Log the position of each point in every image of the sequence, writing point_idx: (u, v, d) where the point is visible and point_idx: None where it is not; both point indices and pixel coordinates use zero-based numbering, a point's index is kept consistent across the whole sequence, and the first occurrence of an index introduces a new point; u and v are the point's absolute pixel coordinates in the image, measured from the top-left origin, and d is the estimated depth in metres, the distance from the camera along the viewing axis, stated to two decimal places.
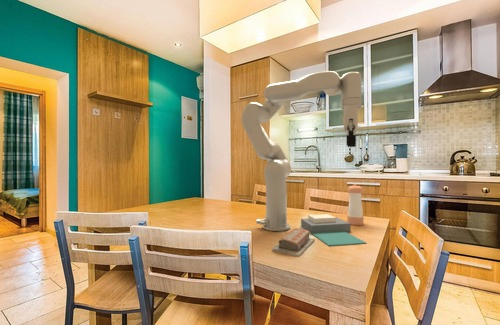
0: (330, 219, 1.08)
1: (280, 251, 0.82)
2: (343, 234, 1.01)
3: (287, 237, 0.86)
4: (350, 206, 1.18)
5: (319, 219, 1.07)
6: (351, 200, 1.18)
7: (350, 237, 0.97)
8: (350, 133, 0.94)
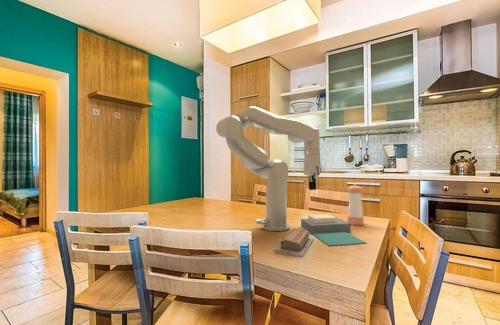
0: (330, 219, 1.08)
1: (283, 252, 0.82)
2: (343, 234, 1.01)
3: (289, 237, 0.85)
4: (350, 206, 1.18)
5: (319, 219, 1.07)
6: (351, 200, 1.18)
7: (350, 237, 0.97)
8: (313, 180, 1.20)
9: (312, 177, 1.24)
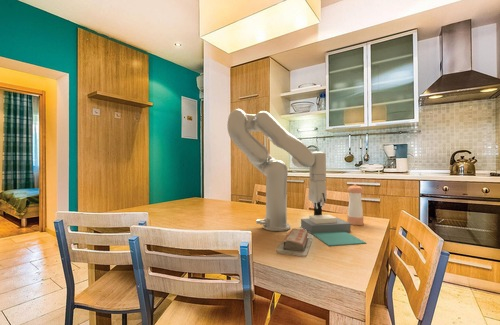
0: (331, 219, 1.07)
1: (285, 252, 0.81)
2: (343, 234, 1.01)
3: (290, 238, 0.85)
4: (350, 206, 1.18)
5: (320, 219, 1.06)
6: (351, 200, 1.18)
7: (350, 237, 0.97)
8: (319, 207, 1.13)
9: None
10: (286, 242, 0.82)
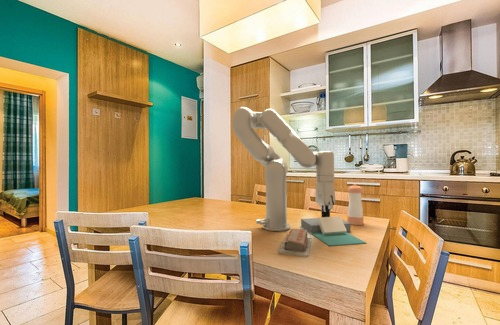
0: (340, 232, 1.01)
1: (287, 253, 0.81)
2: (343, 234, 1.01)
3: (291, 238, 0.85)
4: (350, 206, 1.18)
5: (329, 232, 1.00)
6: (351, 200, 1.18)
7: (350, 237, 0.97)
8: (327, 210, 1.06)
9: None
10: (287, 242, 0.82)
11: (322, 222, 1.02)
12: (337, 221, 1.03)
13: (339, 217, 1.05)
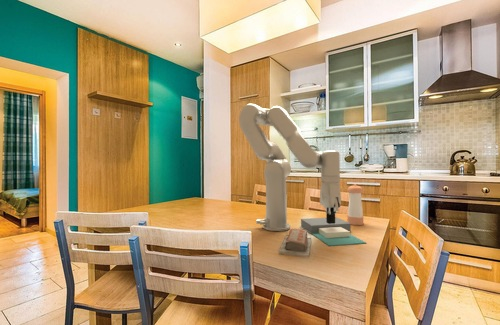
0: (343, 233, 0.98)
1: (288, 253, 0.81)
2: None
3: (292, 238, 0.84)
4: (350, 206, 1.18)
5: (331, 233, 0.97)
6: (351, 200, 1.18)
7: (350, 237, 0.97)
8: (332, 213, 1.01)
9: None
10: (288, 242, 0.82)
11: (322, 229, 1.01)
12: (338, 228, 1.02)
13: (339, 227, 1.04)
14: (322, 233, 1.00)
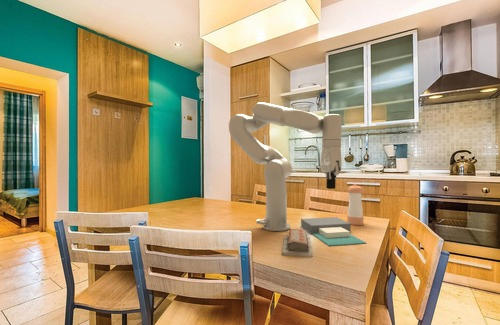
0: (343, 233, 0.98)
1: (291, 254, 0.80)
2: None
3: (294, 238, 0.84)
4: (350, 206, 1.18)
5: (331, 233, 0.97)
6: (351, 200, 1.18)
7: (350, 237, 0.97)
8: (333, 177, 0.99)
9: None
10: (291, 243, 0.81)
11: (322, 229, 1.01)
12: (338, 228, 1.02)
13: (339, 227, 1.04)
14: (322, 233, 1.00)
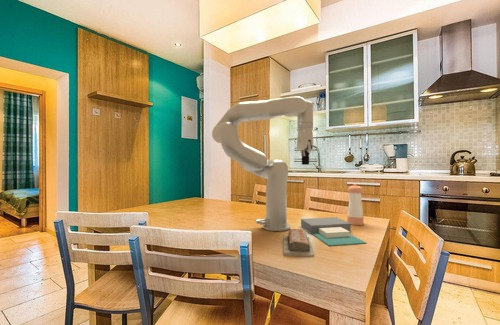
0: (343, 233, 0.98)
1: (293, 254, 0.80)
2: None
3: (295, 239, 0.84)
4: (350, 206, 1.18)
5: (331, 233, 0.97)
6: (351, 200, 1.18)
7: (350, 237, 0.97)
8: (306, 155, 1.17)
9: None
10: (292, 243, 0.81)
11: (322, 229, 1.01)
12: (338, 228, 1.02)
13: (339, 227, 1.04)
14: (322, 233, 1.00)
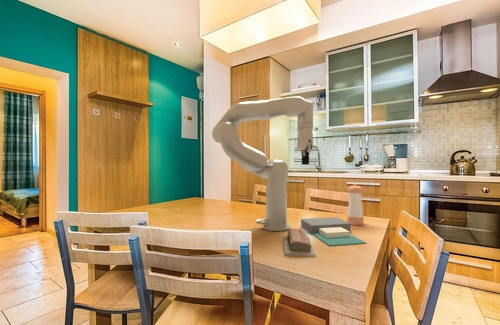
0: (343, 233, 0.98)
1: (294, 254, 0.80)
2: None
3: (296, 239, 0.84)
4: (350, 206, 1.18)
5: (331, 233, 0.97)
6: (351, 200, 1.18)
7: (350, 237, 0.97)
8: (306, 155, 1.17)
9: None
10: (294, 243, 0.81)
11: (322, 229, 1.01)
12: (338, 228, 1.02)
13: (339, 227, 1.04)
14: (322, 233, 1.00)
